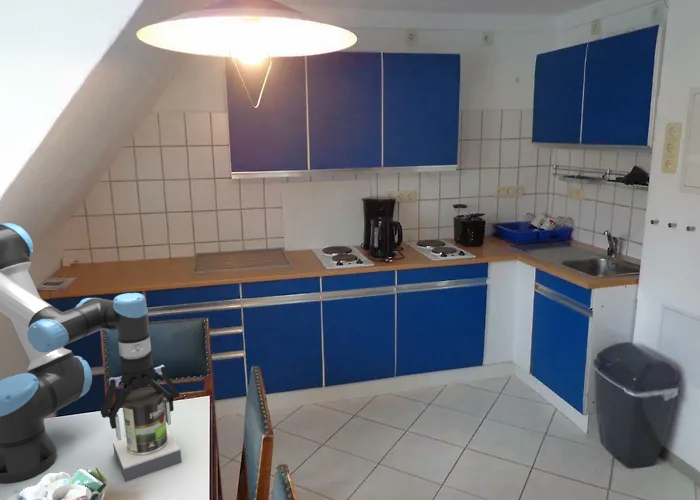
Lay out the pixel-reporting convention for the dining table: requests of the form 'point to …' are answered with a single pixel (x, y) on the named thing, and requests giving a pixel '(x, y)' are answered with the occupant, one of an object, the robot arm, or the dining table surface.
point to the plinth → (145, 458)
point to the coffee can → (145, 421)
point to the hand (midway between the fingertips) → (144, 430)
